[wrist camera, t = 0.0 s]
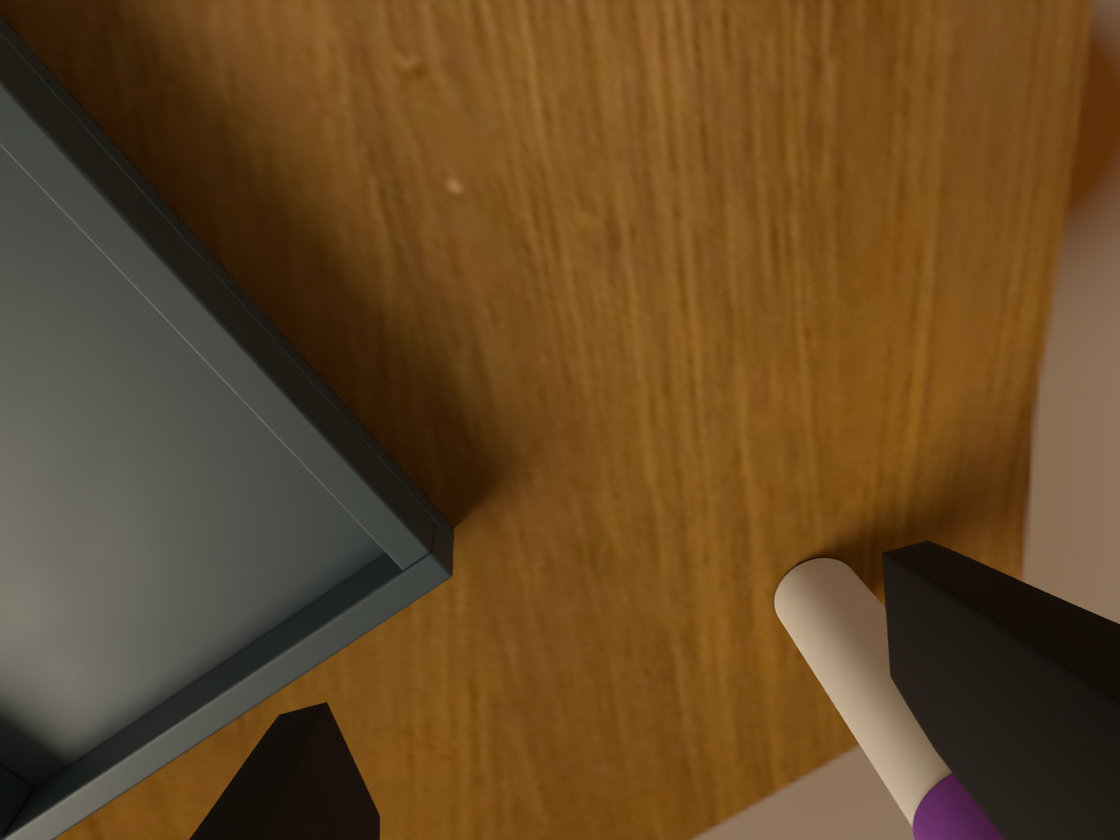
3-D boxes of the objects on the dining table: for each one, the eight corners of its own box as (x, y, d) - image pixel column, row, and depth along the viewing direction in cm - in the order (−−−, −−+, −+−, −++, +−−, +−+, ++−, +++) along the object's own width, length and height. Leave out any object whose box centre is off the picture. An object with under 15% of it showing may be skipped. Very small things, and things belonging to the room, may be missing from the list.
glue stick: (862, 619, 21) (1122, 941, 13) (775, 642, 21) (979, 982, 13) (856, 543, 20) (1134, 840, 12) (764, 568, 20) (978, 883, 12)
